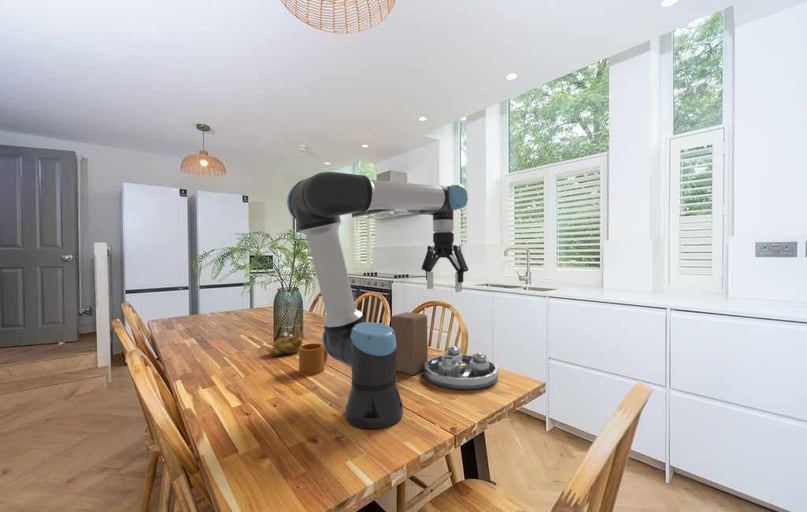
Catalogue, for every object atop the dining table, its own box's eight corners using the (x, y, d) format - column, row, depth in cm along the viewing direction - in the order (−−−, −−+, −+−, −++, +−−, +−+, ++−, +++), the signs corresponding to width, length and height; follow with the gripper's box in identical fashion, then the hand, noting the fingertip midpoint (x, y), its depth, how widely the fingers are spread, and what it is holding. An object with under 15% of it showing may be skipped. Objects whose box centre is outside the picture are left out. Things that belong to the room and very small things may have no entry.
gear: (450, 381, 107) (450, 362, 106) (434, 375, 112) (434, 357, 112) (463, 375, 111) (463, 358, 111) (447, 370, 116) (447, 353, 116)
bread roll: (272, 359, 135) (272, 339, 135) (267, 353, 143) (267, 335, 143) (304, 353, 143) (304, 334, 143) (297, 348, 151) (297, 330, 151)
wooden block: (413, 376, 115) (412, 318, 115) (390, 370, 121) (389, 315, 121) (428, 368, 123) (428, 314, 123) (407, 363, 129) (406, 311, 129)
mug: (336, 368, 124) (336, 344, 124) (307, 377, 116) (307, 352, 115) (322, 362, 131) (322, 339, 130) (294, 371, 122) (294, 346, 121)
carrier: (468, 397, 98) (467, 370, 98) (409, 375, 116) (409, 352, 116) (512, 375, 115) (512, 352, 115) (454, 358, 133) (454, 338, 133)
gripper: (478, 230, 116) (478, 292, 116) (425, 233, 134) (426, 286, 134) (464, 229, 110) (465, 294, 111) (412, 233, 129) (412, 288, 129)
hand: (443, 290), depth 123 cm, fingers open, 13 cm apart
